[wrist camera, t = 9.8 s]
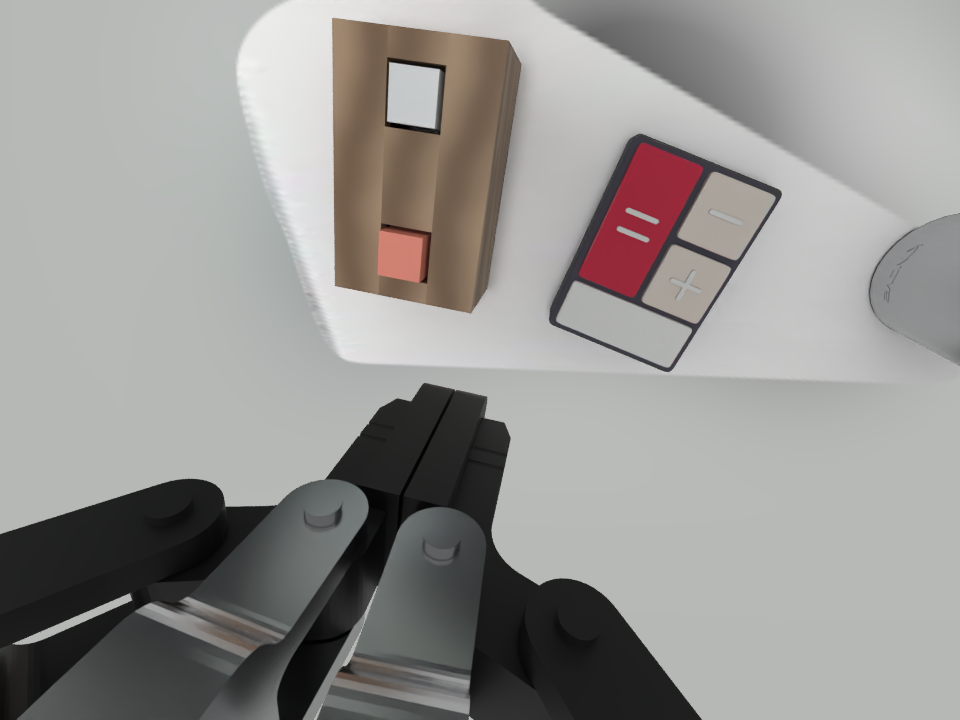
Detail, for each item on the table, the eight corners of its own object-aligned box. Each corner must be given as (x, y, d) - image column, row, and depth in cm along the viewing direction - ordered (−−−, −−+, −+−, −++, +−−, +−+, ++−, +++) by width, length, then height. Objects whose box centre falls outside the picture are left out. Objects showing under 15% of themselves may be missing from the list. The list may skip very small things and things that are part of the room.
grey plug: (465, 86, 32) (439, 69, 26) (459, 134, 34) (434, 128, 27) (424, 80, 33) (389, 62, 26) (420, 128, 34) (387, 121, 28)
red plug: (448, 224, 36) (422, 238, 30) (444, 262, 37) (419, 283, 31) (411, 218, 36) (379, 230, 30) (409, 255, 38) (377, 274, 32)
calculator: (791, 192, 29) (672, 378, 35) (763, 191, 33) (661, 358, 39) (638, 129, 29) (546, 326, 35) (629, 136, 33) (548, 311, 39)
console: (521, 64, 31) (508, 40, 25) (486, 288, 39) (471, 313, 33) (378, 44, 32) (332, 17, 26) (371, 266, 40) (335, 285, 34)
